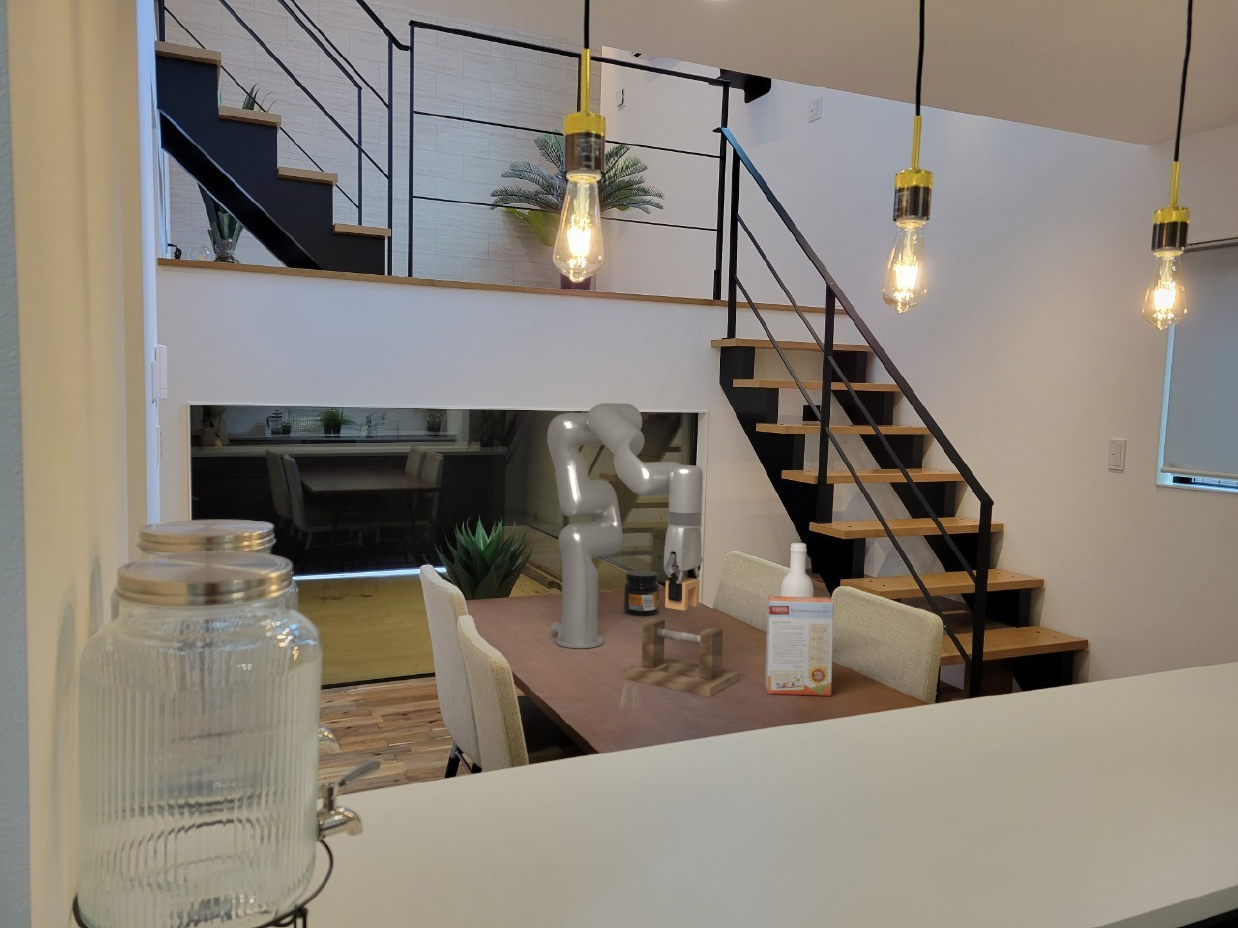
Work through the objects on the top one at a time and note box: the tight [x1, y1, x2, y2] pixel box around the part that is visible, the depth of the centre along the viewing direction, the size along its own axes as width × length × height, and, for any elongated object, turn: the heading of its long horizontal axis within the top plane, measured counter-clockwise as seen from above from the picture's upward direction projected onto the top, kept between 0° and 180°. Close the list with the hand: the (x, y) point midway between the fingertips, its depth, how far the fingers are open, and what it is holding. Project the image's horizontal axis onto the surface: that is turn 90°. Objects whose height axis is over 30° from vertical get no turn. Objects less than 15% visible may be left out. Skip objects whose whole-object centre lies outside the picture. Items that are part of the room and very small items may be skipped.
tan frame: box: [623, 617, 739, 698], centre depth 208 cm, size 22×14×12 cm, turn 57°
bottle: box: [780, 542, 814, 597], centre depth 220 cm, size 8×8×30 cm
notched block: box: [664, 576, 701, 611], centre depth 208 cm, size 5×7×6 cm
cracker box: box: [765, 595, 835, 697], centre depth 201 cm, size 14×6×21 cm, turn 86°
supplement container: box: [623, 569, 660, 617], centre depth 274 cm, size 10×10×12 cm
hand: (683, 597), depth 208 cm, fingers closed on notched block, 6 cm apart
